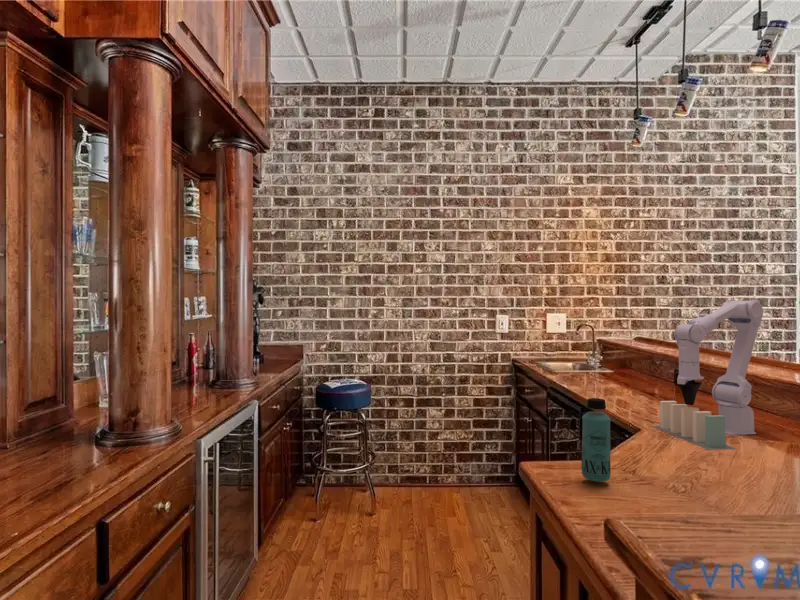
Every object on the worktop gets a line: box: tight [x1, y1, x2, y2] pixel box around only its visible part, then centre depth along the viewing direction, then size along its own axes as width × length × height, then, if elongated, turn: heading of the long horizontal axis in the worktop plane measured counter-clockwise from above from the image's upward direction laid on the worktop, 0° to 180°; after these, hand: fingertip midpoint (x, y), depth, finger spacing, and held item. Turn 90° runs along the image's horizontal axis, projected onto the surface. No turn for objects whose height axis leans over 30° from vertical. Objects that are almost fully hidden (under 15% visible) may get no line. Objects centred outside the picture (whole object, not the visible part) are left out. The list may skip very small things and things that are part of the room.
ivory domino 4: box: [693, 410, 713, 442], centre depth 151 cm, size 5×2×9 cm, turn 95°
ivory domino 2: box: [670, 403, 689, 433], centre depth 162 cm, size 5×2×9 cm, turn 95°
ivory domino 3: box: [681, 406, 700, 437], centre depth 157 cm, size 5×2×9 cm, turn 95°
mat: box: [650, 425, 737, 451], centre depth 157 cm, size 9×28×1 cm, turn 5°
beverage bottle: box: [580, 397, 612, 482], centre depth 117 cm, size 6×7×20 cm
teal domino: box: [705, 414, 726, 447], centre depth 146 cm, size 5×2×9 cm, turn 95°
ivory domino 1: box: [659, 400, 678, 429], centre depth 168 cm, size 5×2×9 cm, turn 95°
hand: (689, 404), depth 157 cm, fingers closed
